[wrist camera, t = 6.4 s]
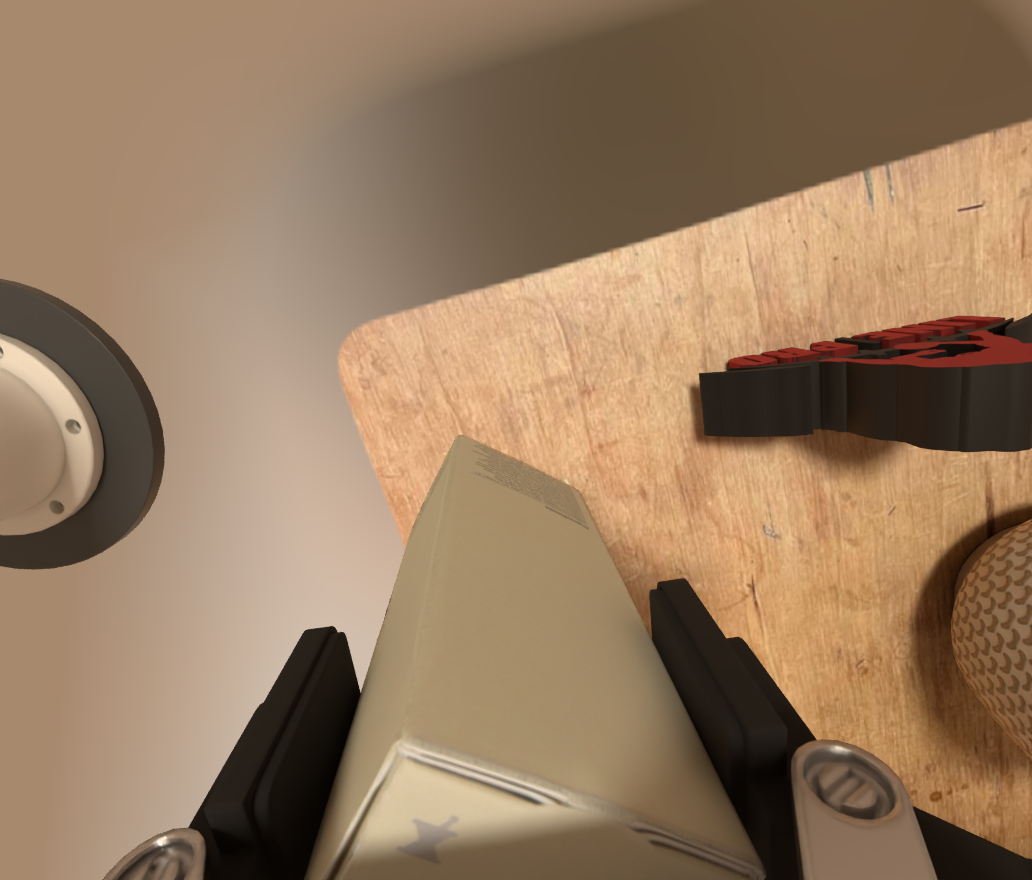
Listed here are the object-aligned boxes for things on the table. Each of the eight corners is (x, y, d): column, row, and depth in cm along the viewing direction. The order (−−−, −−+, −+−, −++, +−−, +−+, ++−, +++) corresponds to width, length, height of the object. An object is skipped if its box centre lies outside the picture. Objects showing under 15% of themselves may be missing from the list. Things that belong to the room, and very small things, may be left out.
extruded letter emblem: (996, 308, 29) (1281, 314, 19) (992, 367, 30) (1262, 407, 20) (683, 367, 30) (785, 407, 19) (689, 424, 31) (789, 493, 20)
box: (407, 532, 19) (229, 999, 6) (460, 427, 18) (373, 733, 5) (536, 589, 19) (606, 1101, 7) (593, 491, 18) (790, 888, 6)
